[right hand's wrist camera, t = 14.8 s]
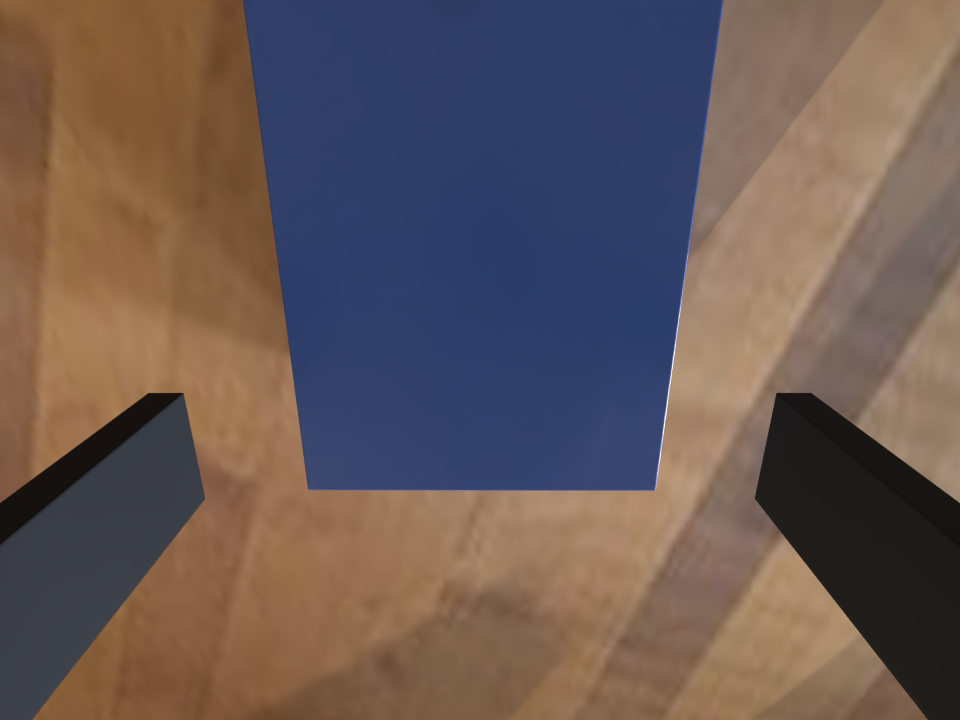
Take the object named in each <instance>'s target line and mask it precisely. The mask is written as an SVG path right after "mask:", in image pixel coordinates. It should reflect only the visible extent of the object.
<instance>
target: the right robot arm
mask: <svg viewBox="0 0 960 720" xmlns="http://www.w3.org/2000/svg"><path fill="white" fill-rule="evenodd" d="M204 499H205V496H204V491H203V486H202V481H201V476H200V471H199V466H198V462H197V457H196V452H195V447H194V442H193V437H192V432H191V428H190V423H189V418H188V413H187V408H186V403H185V399H184V394H183V393H148V394H147V395H146V396H144V397H143V398H141V399H140V400H139V401H137V402H136V403H135V404H133V405H132V406H131V407H129V408H128V409H127V410H125V411H124V412H123V413H121V414H120V415H119V416H117V417H116V418H114V419H113V420H112V421H110V422H109V423H108V424H106V425H105V426H104V427H102V428H101V429H100V430H98V431H97V432H96V433H94V434H93V435H92V436H90V437H89V438H87V439H86V440H85V441H83V442H82V443H81V444H79V445H78V446H77V447H75V448H74V449H73V450H71V451H70V452H69V453H67V454H66V455H65V456H63V457H62V458H60V459H59V460H58V461H56V462H55V463H54V464H52V465H51V466H50V467H48V468H47V469H46V470H44V471H43V472H42V473H40V474H39V475H38V476H36V477H35V478H33V479H32V480H31V481H29V482H28V483H27V484H25V485H24V486H23V487H21V488H20V489H19V490H17V491H16V492H15V493H13V494H12V495H11V496H9V497H8V498H6V499H5V500H4V501H2V502H1V503H0V720H32V719H33V718H34V716H35V715H36V714H37V713H38V711H39V710H40V709H41V708H42V706H43V705H44V704H45V702H46V701H47V700H48V699H49V697H50V696H51V695H52V693H53V692H54V691H55V690H56V688H57V687H58V686H59V685H60V683H61V682H62V681H63V679H64V678H65V677H66V676H67V674H68V673H69V672H70V671H71V669H72V668H73V667H74V665H75V664H76V663H77V662H78V660H79V659H80V658H81V656H82V655H83V654H84V653H85V651H86V650H87V649H88V648H89V646H90V645H91V644H92V642H93V641H94V640H95V639H96V637H97V636H98V635H99V633H100V632H101V631H102V630H103V628H104V627H105V626H106V625H107V623H108V622H109V621H110V619H111V618H112V617H113V616H114V614H115V613H116V612H117V610H118V609H119V608H120V607H121V605H122V604H123V603H124V602H125V600H126V599H127V598H128V596H129V595H130V594H131V593H132V591H133V590H134V589H135V588H136V586H137V585H138V584H139V582H140V581H141V580H142V579H143V577H144V576H145V575H146V573H147V572H148V571H149V570H150V568H151V567H152V566H153V565H154V563H155V562H156V561H157V559H158V558H159V557H160V556H161V554H162V553H163V552H164V550H165V549H166V548H167V547H168V545H169V544H170V543H171V542H172V540H173V539H174V538H175V536H176V535H177V534H178V533H179V531H180V530H181V529H182V528H183V526H184V525H185V524H186V522H187V521H188V520H189V519H190V517H191V516H192V515H193V513H194V512H195V511H196V510H197V508H198V507H199V506H200V505H201V503H202V502H203V501H204ZM755 499H756V501H757V502H758V503H759V505H760V506H761V507H762V508H763V510H764V511H765V512H766V513H767V515H768V516H769V517H770V519H771V520H772V521H773V522H774V524H775V525H776V526H777V528H778V529H779V530H780V531H781V533H782V534H783V535H784V536H785V538H786V539H787V540H788V542H789V543H790V544H791V545H792V547H793V548H794V549H795V550H796V552H797V553H798V554H799V556H800V557H801V558H802V559H803V561H804V562H805V563H806V565H807V566H808V567H809V568H810V570H811V571H812V572H813V573H814V575H815V576H816V577H817V579H818V580H819V581H820V582H821V584H822V585H823V586H824V588H825V589H826V590H827V591H828V593H829V594H830V595H831V596H832V598H833V599H834V600H835V602H836V603H837V604H838V605H839V607H840V608H841V609H842V611H843V612H844V613H845V614H846V616H847V617H848V618H849V619H850V621H851V622H852V623H853V625H854V626H855V627H856V628H857V630H858V631H859V632H860V633H861V635H862V636H863V637H864V639H865V640H866V641H867V642H868V644H869V645H870V646H871V648H872V649H873V650H874V651H875V653H876V654H877V655H878V656H879V658H880V659H881V660H882V662H883V663H884V664H885V665H886V667H887V668H888V669H889V671H890V672H891V673H892V674H893V676H894V677H895V678H896V679H897V681H898V682H899V683H900V685H901V686H902V687H903V688H904V690H905V691H906V692H907V693H908V695H909V696H910V697H911V699H912V700H913V701H914V702H915V704H916V705H917V706H918V708H919V709H920V710H921V711H922V713H923V714H924V715H925V716H926V718H927V719H928V720H960V503H959V502H958V501H956V500H955V499H954V498H952V497H951V496H949V495H948V494H947V493H945V492H944V491H943V490H941V489H940V488H939V487H937V486H936V485H935V484H933V483H932V482H931V481H929V480H928V479H927V478H925V477H924V476H922V475H921V474H920V473H918V472H917V471H916V470H914V469H913V468H912V467H910V466H909V465H908V464H906V463H905V462H904V461H902V460H901V459H900V458H898V457H897V456H895V455H894V454H893V453H891V452H890V451H889V450H887V449H886V448H885V447H883V446H882V445H881V444H879V443H878V442H877V441H875V440H874V439H873V438H871V437H870V436H868V435H867V434H866V433H864V432H863V431H862V430H860V429H859V428H858V427H856V426H855V425H854V424H852V423H851V422H850V421H848V420H847V419H846V418H844V417H843V416H841V415H840V414H839V413H837V412H836V411H835V410H833V409H832V408H831V407H829V406H828V405H827V404H825V403H824V402H823V401H821V400H820V399H819V398H817V397H816V396H814V395H813V394H812V393H777V394H776V399H775V403H774V408H773V413H772V418H771V423H770V428H769V432H768V437H767V442H766V447H765V452H764V457H763V462H762V466H761V471H760V476H759V481H758V486H757V491H756V496H755Z"/></svg>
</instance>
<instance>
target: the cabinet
mask: <svg viewBox="0 0 960 720" xmlns="http://www.w3.org/2000/svg"><path fill="white" fill-rule="evenodd" d="M243 2H244V10H245V18H246V25H247V33H248V40H249V48H250V55H251V63H252V70H253V78H254V85H255V93H256V100H257V108H258V115H259V123H260V130H261V138H262V145H263V153H264V160H265V168H266V176H267V183H268V191H269V198H270V206H271V213H272V221H273V228H274V236H275V243H276V251H277V258H278V266H279V273H280V281H281V288H282V296H283V303H284V311H285V318H286V326H287V334H288V341H289V349H290V356H291V364H292V371H293V379H294V386H295V394H296V401H297V409H298V416H299V424H300V431H301V439H302V446H303V454H304V461H305V469H306V476H307V484H308V489H309V490H638V491H654V490H656V484H657V476H658V469H659V462H660V455H661V447H662V440H663V433H664V426H665V418H666V411H667V404H668V397H669V389H670V382H671V375H672V368H673V361H674V353H675V346H676V339H677V332H678V324H679V317H680V310H681V303H682V295H683V288H684V281H685V274H686V266H687V259H688V252H689V245H690V237H691V230H692V223H693V216H694V209H695V201H696V194H697V187H698V180H699V172H700V165H701V158H702V151H703V143H704V136H705V129H706V122H707V114H708V107H709V100H710V93H711V86H712V78H713V71H714V64H715V57H716V49H717V42H718V35H719V28H720V20H721V13H722V6H723V0H243Z"/></svg>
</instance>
